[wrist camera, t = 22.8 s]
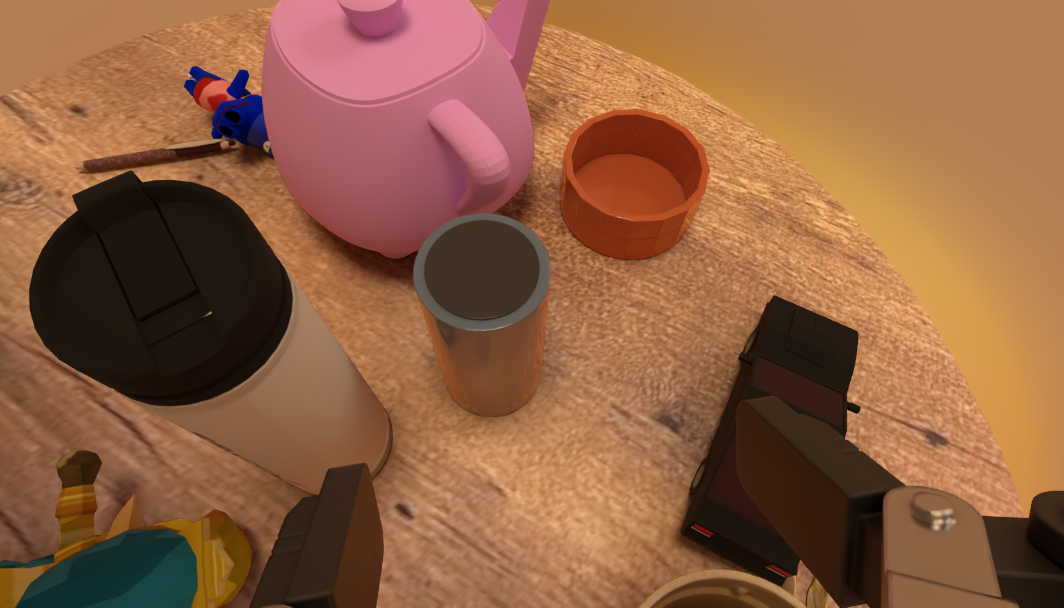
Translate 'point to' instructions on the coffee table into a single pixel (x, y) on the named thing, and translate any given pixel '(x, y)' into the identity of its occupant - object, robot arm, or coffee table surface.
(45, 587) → the toy
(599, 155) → the orange round bowl
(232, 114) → the figurine
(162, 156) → the pen
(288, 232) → the coffee table surface
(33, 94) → the coffee table surface
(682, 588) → the flower pot
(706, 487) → the toy car
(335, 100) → the teapot
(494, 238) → the grey metal cylinder
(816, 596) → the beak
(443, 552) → the coffee table surface
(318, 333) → the travel mug
